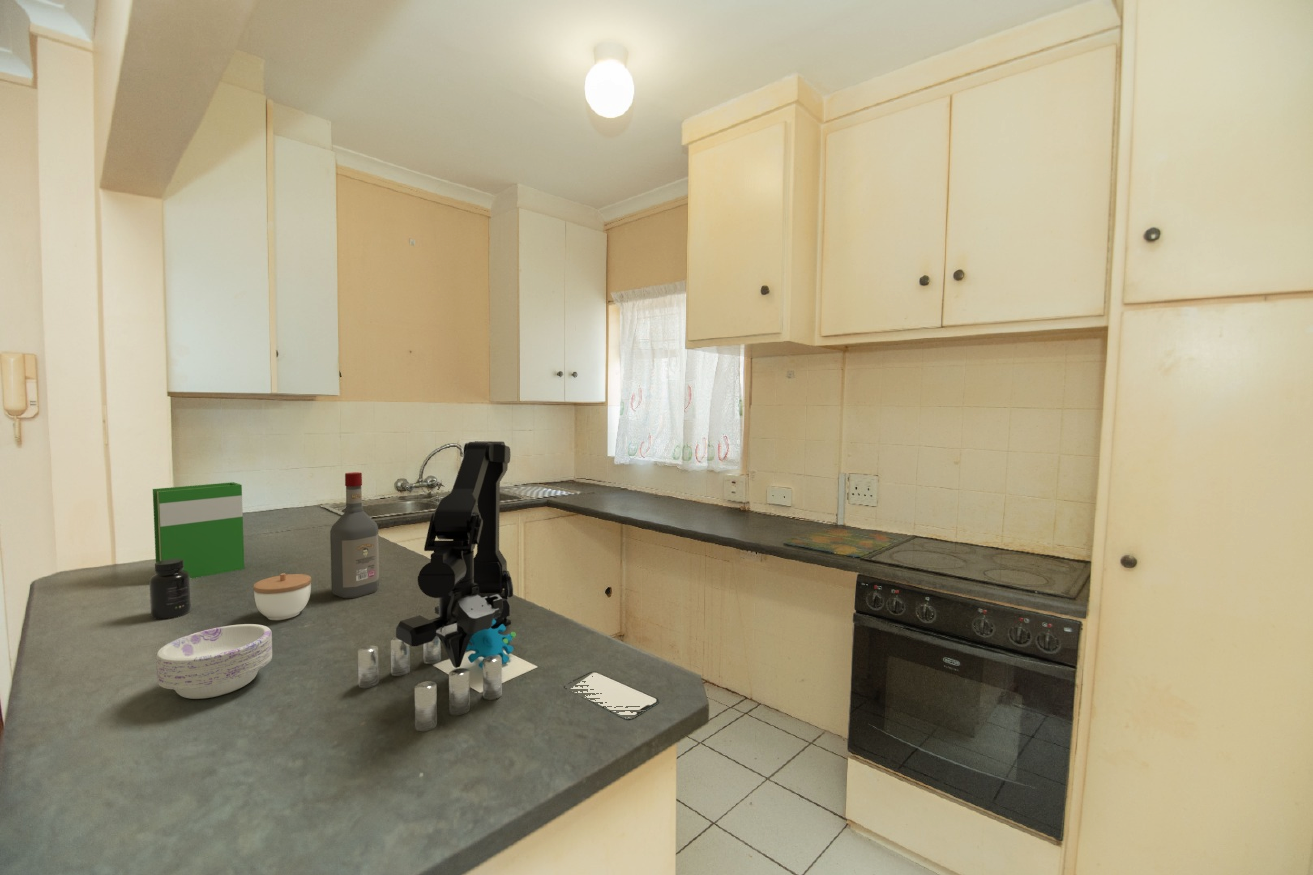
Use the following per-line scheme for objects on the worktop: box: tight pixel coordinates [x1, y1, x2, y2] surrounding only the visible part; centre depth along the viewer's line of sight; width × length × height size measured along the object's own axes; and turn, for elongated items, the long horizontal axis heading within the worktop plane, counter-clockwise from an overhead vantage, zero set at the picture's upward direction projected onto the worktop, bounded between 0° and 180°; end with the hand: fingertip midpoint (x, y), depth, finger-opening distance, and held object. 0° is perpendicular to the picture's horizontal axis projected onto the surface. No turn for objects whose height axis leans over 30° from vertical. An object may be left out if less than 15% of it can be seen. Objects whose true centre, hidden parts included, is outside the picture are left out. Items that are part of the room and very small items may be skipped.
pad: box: [432, 649, 538, 694], centre depth 102 cm, size 12×15×1 cm
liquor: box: [329, 471, 380, 599], centre depth 140 cm, size 9×9×30 cm
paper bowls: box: [155, 623, 273, 700], centre depth 94 cm, size 15×15×8 cm
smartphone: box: [563, 671, 660, 720], centre depth 93 cm, size 8×1×16 cm
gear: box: [465, 619, 517, 669], centre depth 104 cm, size 11×6×10 cm
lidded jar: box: [252, 572, 312, 621], centre depth 125 cm, size 11×11×9 cm
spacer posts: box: [357, 636, 503, 732], centre depth 94 cm, size 14×22×6 cm, turn 51°
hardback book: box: [152, 481, 245, 579], centre depth 154 cm, size 18×7×24 cm, turn 141°
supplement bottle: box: [148, 559, 192, 620], centre depth 125 cm, size 7×7×12 cm
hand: (456, 666), depth 98 cm, fingers closed
